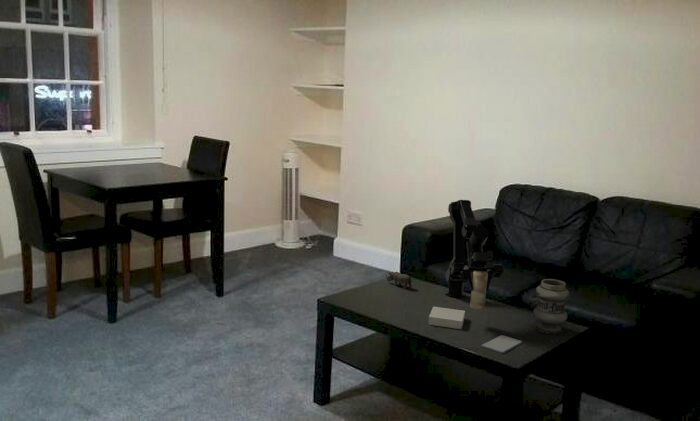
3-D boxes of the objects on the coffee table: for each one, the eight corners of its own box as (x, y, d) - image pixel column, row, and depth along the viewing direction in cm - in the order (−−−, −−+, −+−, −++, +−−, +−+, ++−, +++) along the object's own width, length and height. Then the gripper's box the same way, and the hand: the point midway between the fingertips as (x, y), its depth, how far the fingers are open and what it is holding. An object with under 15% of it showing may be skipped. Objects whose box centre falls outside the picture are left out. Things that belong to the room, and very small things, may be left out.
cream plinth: (432, 314, 255) (433, 306, 255) (464, 318, 253) (465, 310, 252) (428, 324, 244) (428, 316, 243) (461, 329, 241) (462, 321, 241)
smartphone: (523, 341, 232) (502, 352, 221) (523, 344, 232) (502, 355, 221) (501, 334, 237) (480, 345, 226) (501, 337, 238) (480, 347, 226)
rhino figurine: (388, 281, 295) (389, 267, 294) (413, 289, 286) (414, 275, 284) (382, 282, 292) (383, 269, 291) (407, 290, 283) (408, 277, 281)
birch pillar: (475, 303, 249) (479, 269, 247) (487, 307, 245) (490, 273, 243) (467, 306, 246) (470, 271, 243) (478, 310, 242) (482, 275, 239)
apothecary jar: (524, 324, 250) (529, 278, 246) (550, 321, 255) (556, 276, 251) (545, 336, 239) (551, 288, 235) (572, 333, 244) (578, 285, 240)
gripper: (455, 241, 244) (459, 279, 236) (505, 243, 245) (511, 281, 237) (448, 256, 253) (452, 293, 245) (497, 258, 255) (502, 295, 246)
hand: (479, 290), depth 243 cm, fingers closed on birch pillar, 5 cm apart
